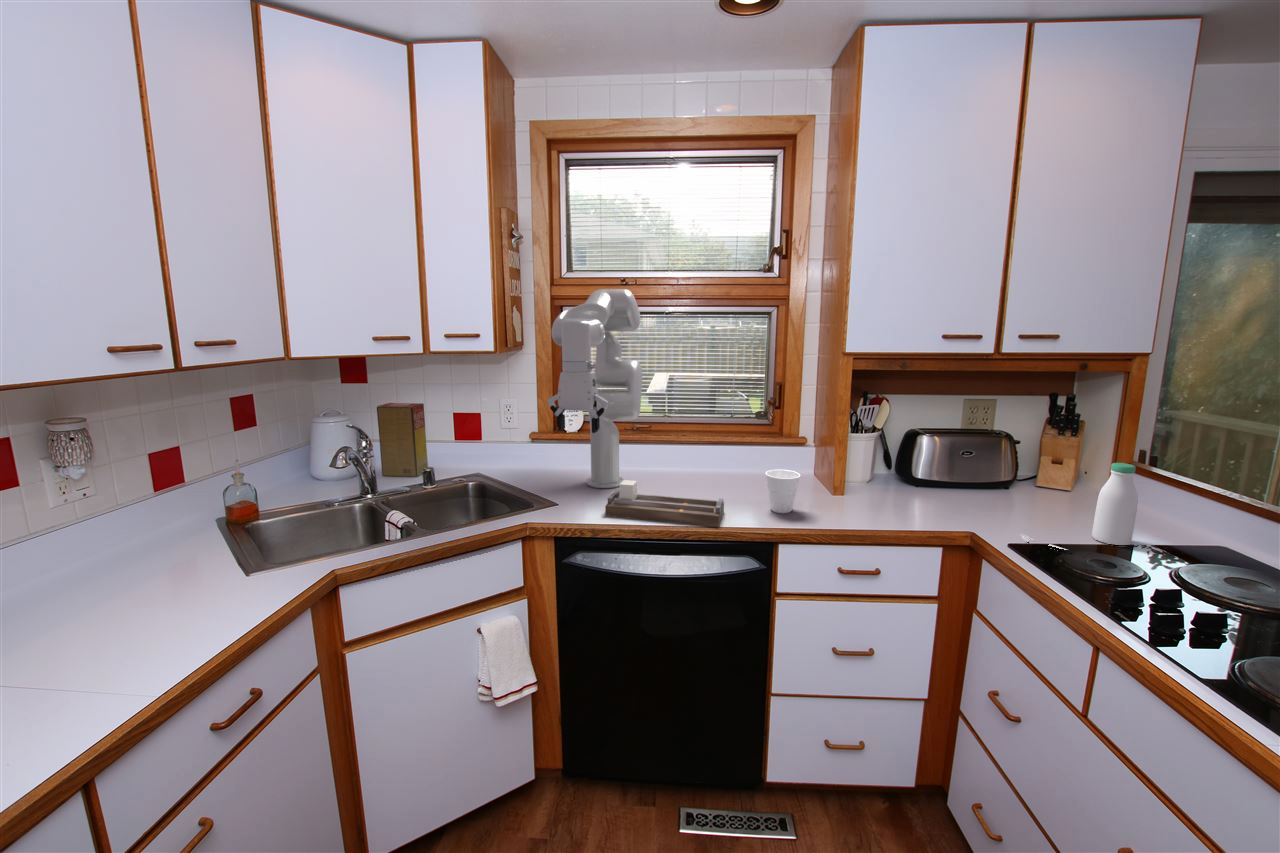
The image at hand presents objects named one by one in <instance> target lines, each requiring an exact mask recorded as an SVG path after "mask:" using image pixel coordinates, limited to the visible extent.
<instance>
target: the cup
mask: <svg viewBox="0 0 1280 853" xmlns="http://www.w3.org/2000/svg"><path fill="white" fill-rule="evenodd" d="M765 477H766V483H767V484H766V485H767V491H768V500H769V501H768V502H769V508H770V511H772V512H774V513H777V514H788V513H791V512H792V510H793V507H794V502H795V498H796V495H797V494H796V493H797V490H798V485H799V481H800V478H801V477H802V476H801V474H800V473H799V472H797V471H794V470H789V469H780V468H779V469H770V470H767V471H766V472H765Z"/></svg>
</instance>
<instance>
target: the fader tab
mask: <svg viewBox="0 0 1280 853" xmlns="http://www.w3.org/2000/svg"><path fill="white" fill-rule="evenodd" d="M618 487H619V489H618V490H619V499H629V500H635V499H636V498H637V494H638V482H637V480H628V479H627V480H626V479H624V480H623V481H622V482H621V483H620V484H619V486H618Z"/></svg>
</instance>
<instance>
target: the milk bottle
mask: <svg viewBox="0 0 1280 853" xmlns="http://www.w3.org/2000/svg"><path fill="white" fill-rule="evenodd" d="M1135 473H1136V465H1133V464H1129V463H1125V462H1113V463H1111V465H1110V475H1109V477H1108V479H1107V481H1106V483H1104V485H1103V486H1102V487H1101V489H1100V491H1099V494H1098V498H1097V502H1096V507H1095V511H1094V512H1095V513H1094V520H1093V525H1092V531H1091V538H1092V537H1093V538H1094V539H1095V541H1096V540H1098V541H1101V542H1105V543H1110V544H1116V545H1129V544H1130V545H1131V543H1132V540H1133V534H1134V529H1135V523H1136V517H1137V511H1138V504H1139V495H1138V492H1137V489H1136V487H1135V486H1136V485H1135V483H1134V476H1135V475H1136V474H1135ZM1093 538H1092V539H1093ZM1094 539H1093V540H1094ZM1098 541H1097V542H1098ZM1101 542H1100V543H1101ZM1130 545H1129V546H1130Z"/></svg>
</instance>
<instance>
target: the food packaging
mask: <svg viewBox="0 0 1280 853" xmlns="http://www.w3.org/2000/svg"><path fill="white" fill-rule="evenodd" d="M376 416H377V425H378V427H377V428H378V435H379V436H378V437H379V451H380V461H381V462H380V463H381V464H380V466H381V476H382V477H394V478H395V477H398V478H401V477H403V478H417V477H419V476H421V475H423V474H422V470H423V469H424V468H428V469H429V466H428V464H429V463H428V449H427V438H426V437H427V436H426V421H425V417H426V416H425V405H424V403H420V402H419V403H417V402H416V403H411V402H410V403H409V402H407V403H406V402H405V403H404V402H388V403H384V404H379V405H376Z"/></svg>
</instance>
